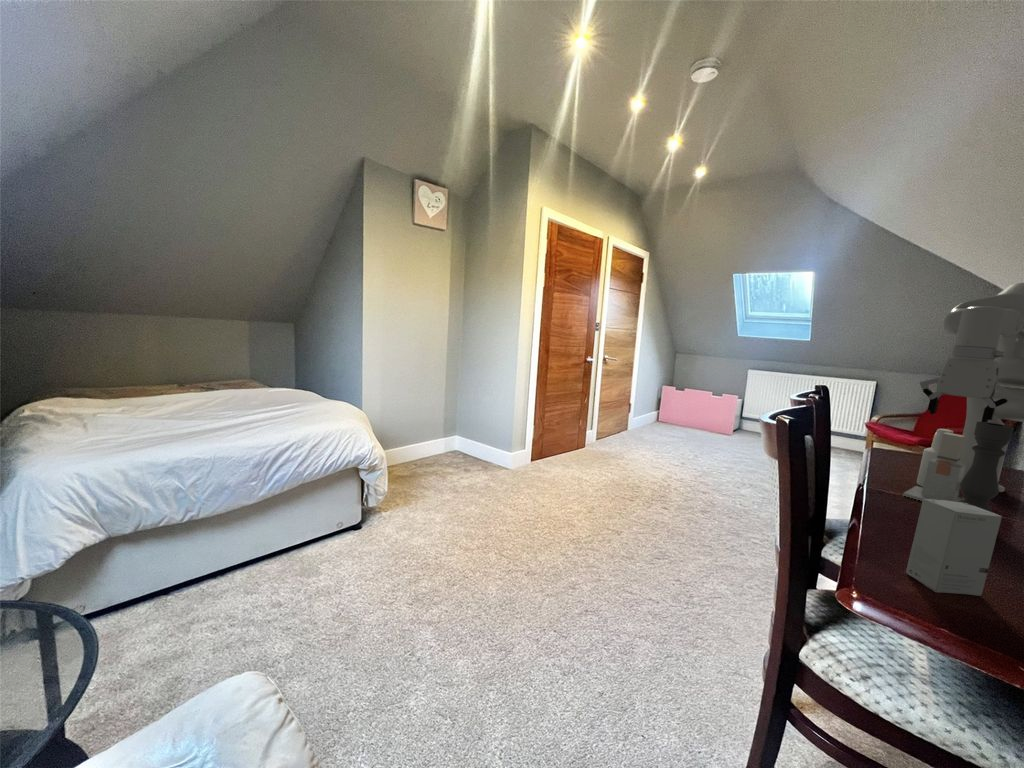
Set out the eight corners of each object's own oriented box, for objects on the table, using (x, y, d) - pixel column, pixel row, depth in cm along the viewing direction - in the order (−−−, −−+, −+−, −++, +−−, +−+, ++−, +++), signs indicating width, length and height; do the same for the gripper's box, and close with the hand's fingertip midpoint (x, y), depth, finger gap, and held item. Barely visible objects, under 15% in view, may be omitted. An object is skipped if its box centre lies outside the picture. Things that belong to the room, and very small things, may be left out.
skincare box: (935, 593, 70) (955, 512, 68) (902, 572, 76) (920, 497, 74) (984, 597, 70) (1006, 515, 68) (947, 575, 76) (966, 500, 74)
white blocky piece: (915, 489, 122) (923, 451, 120) (974, 505, 112) (985, 464, 110) (902, 496, 115) (911, 456, 113) (964, 514, 105) (975, 470, 103)
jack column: (931, 491, 116) (945, 432, 113) (950, 497, 113) (965, 435, 110) (928, 494, 114) (942, 433, 111) (947, 499, 111) (962, 437, 108)
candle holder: (997, 532, 96) (1024, 429, 92) (970, 530, 96) (996, 427, 92) (968, 519, 102) (993, 422, 98) (943, 517, 102) (967, 420, 99)
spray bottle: (946, 493, 120) (961, 434, 117) (914, 485, 125) (927, 428, 122) (948, 488, 124) (962, 431, 121) (917, 481, 129) (930, 425, 126)
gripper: (1027, 358, 102) (1009, 424, 105) (931, 351, 116) (917, 410, 119) (1023, 357, 98) (1004, 426, 100) (924, 350, 112) (910, 411, 115)
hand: (957, 417), depth 110 cm, fingers open, 9 cm apart
